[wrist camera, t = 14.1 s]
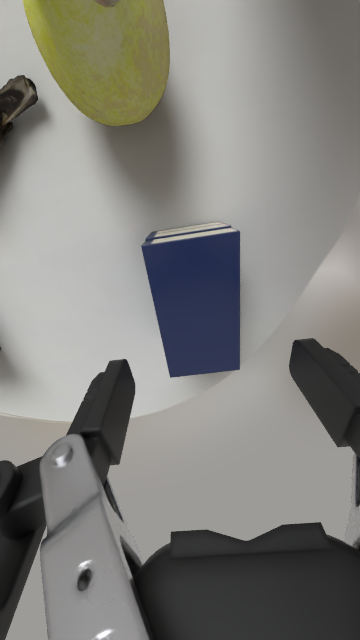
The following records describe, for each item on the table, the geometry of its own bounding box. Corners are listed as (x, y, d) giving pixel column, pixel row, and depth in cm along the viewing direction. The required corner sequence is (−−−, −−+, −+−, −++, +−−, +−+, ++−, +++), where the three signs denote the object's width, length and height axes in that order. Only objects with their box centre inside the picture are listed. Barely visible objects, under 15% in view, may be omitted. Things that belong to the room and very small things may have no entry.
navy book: (170, 361, 20) (170, 377, 18) (145, 240, 14) (140, 245, 12) (233, 353, 19) (239, 370, 17) (231, 227, 14) (240, 230, 12)
